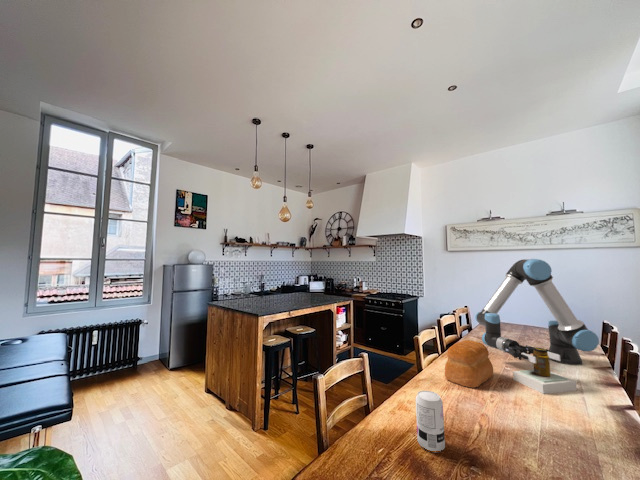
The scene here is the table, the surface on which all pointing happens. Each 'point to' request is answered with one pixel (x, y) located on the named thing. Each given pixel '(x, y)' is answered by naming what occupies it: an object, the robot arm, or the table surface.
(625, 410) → the table surface
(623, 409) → the table surface
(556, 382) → the riser
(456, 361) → the bread
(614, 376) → the table surface
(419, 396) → the supplement can
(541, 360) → the condiment
